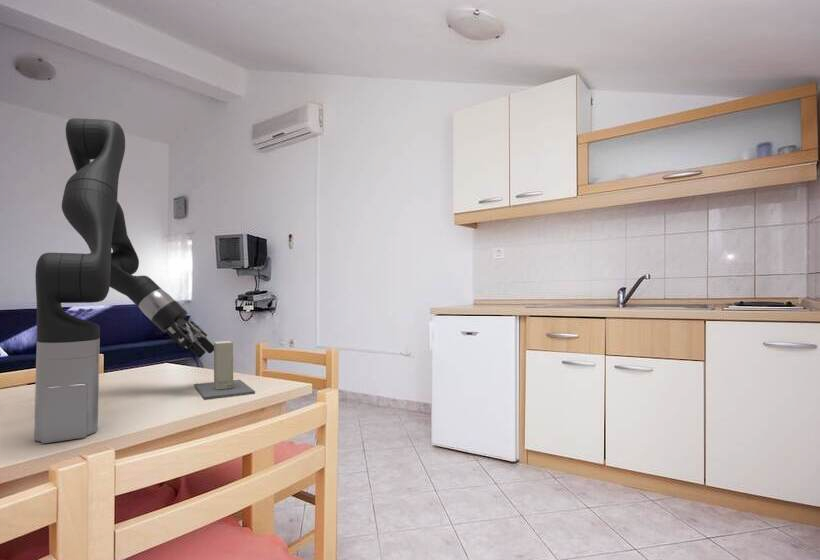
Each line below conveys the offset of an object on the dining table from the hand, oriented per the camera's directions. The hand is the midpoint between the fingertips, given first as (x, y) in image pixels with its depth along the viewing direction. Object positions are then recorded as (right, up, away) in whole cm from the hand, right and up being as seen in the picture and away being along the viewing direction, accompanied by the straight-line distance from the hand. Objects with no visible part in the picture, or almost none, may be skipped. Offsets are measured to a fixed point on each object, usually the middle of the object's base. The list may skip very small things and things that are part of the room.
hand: (208, 353), depth 117 cm
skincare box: (+4, -9, +1) cm, 10 cm away
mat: (+4, -10, 0) cm, 11 cm away
